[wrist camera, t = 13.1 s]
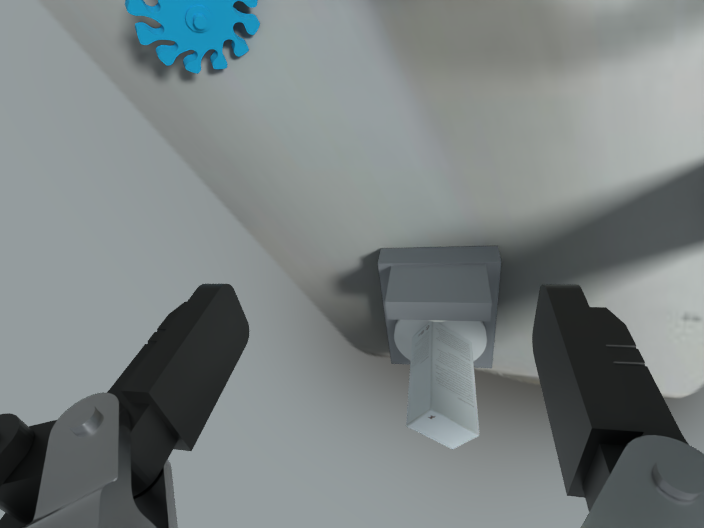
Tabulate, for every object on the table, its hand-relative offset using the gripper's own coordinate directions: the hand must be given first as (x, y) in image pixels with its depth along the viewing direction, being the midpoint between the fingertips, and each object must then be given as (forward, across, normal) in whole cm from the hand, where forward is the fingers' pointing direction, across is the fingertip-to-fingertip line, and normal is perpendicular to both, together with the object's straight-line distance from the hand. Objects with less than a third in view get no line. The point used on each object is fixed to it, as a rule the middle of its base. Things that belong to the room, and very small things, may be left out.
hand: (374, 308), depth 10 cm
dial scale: (+30, -1, +27) cm, 40 cm away
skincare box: (+26, -1, +29) cm, 39 cm away
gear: (+30, +17, -7) cm, 35 cm away
